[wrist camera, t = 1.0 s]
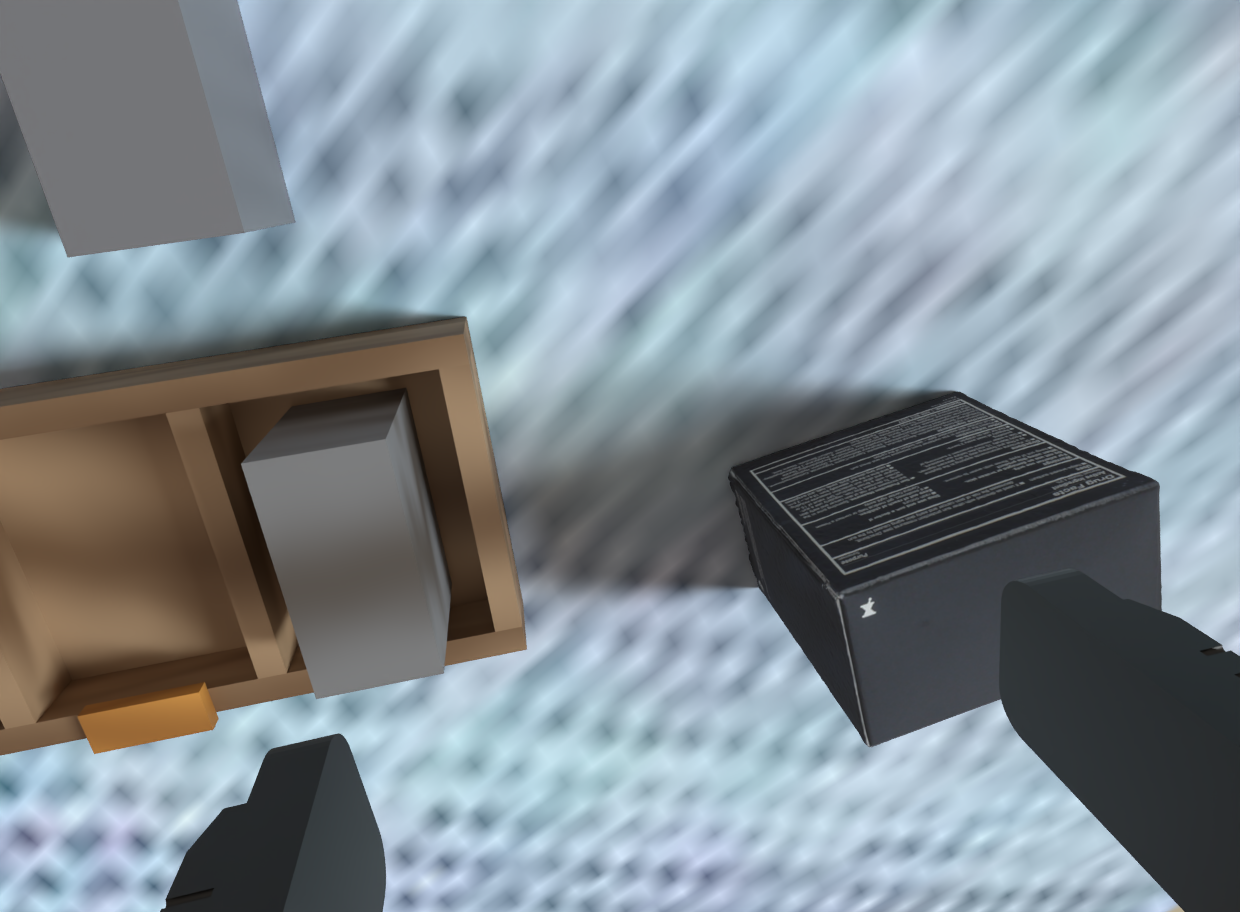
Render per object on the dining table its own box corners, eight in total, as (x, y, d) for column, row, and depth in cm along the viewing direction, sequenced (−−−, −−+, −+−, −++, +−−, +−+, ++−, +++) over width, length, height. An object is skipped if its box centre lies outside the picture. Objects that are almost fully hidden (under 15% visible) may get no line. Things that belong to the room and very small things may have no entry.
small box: (757, 597, 34) (865, 763, 24) (722, 466, 32) (826, 591, 22) (979, 520, 35) (1172, 652, 25) (961, 385, 32) (1166, 472, 23)
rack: (-344, 442, 25) (-631, 531, 19) (466, 316, 28) (459, 356, 22) (-165, 743, 30) (-349, 900, 23) (524, 608, 33) (533, 715, 26)
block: (69, -34, 23) (-65, -103, 18) (224, -50, 24) (142, -122, 18) (158, 241, 26) (67, 257, 20) (296, 222, 26) (244, 232, 21)
